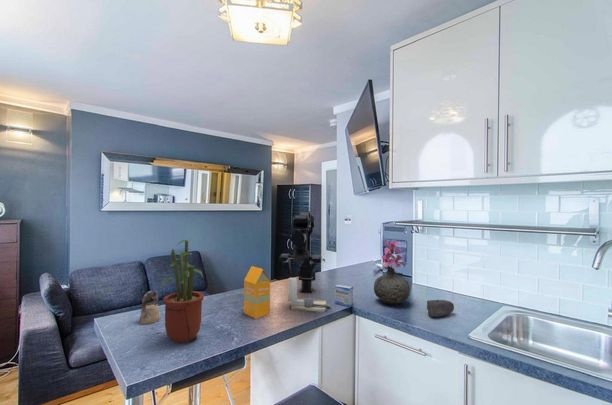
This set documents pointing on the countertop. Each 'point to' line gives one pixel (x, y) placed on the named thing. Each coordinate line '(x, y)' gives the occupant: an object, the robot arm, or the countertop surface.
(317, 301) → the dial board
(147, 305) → the figurine
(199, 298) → the potted plant
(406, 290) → the vase
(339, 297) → the medicine box
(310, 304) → the crank handle
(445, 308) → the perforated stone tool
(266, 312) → the orange juice
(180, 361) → the countertop surface
